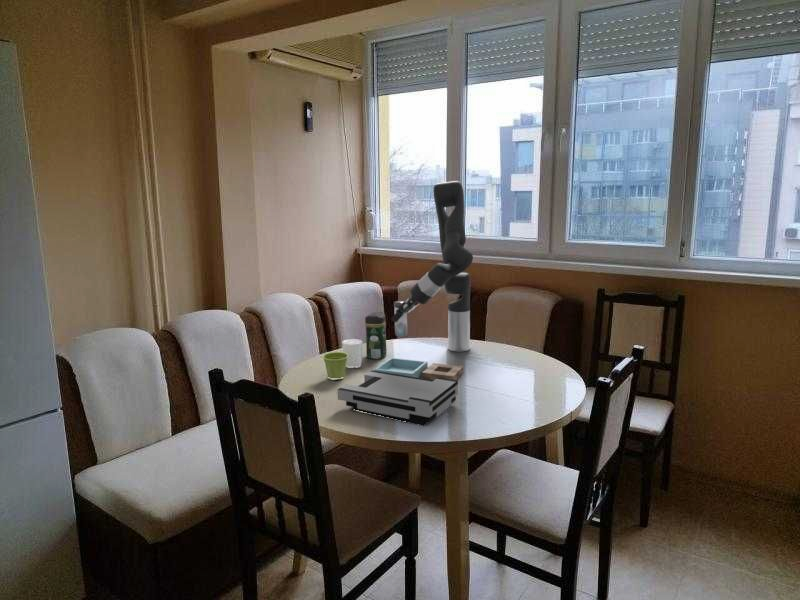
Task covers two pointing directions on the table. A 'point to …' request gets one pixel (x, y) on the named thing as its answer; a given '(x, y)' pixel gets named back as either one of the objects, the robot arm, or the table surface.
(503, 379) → the table surface
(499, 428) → the table surface
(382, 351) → the coffee jar
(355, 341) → the white cup
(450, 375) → the brown square frame
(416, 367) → the parts tray
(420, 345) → the table surface
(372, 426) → the table surface
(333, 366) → the plant pot
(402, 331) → the bottle with dark cap
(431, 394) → the game console
